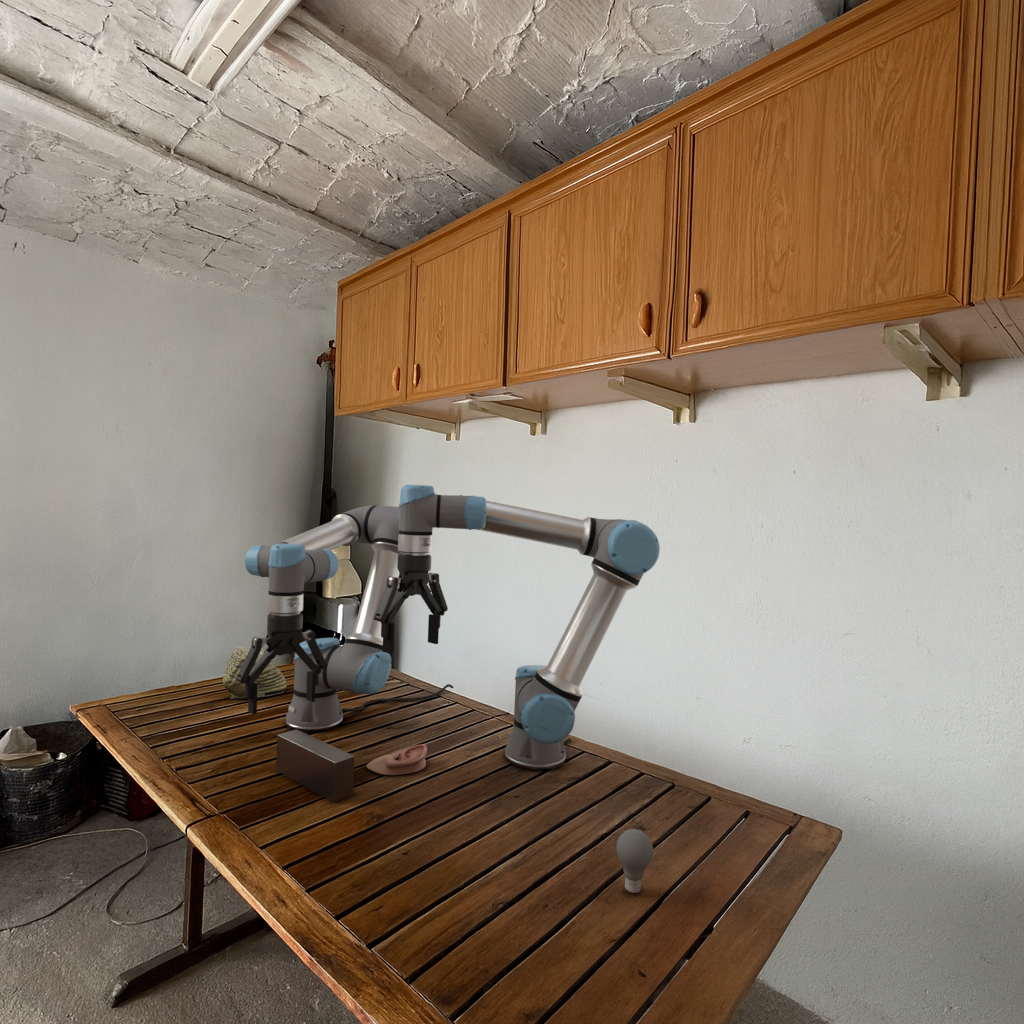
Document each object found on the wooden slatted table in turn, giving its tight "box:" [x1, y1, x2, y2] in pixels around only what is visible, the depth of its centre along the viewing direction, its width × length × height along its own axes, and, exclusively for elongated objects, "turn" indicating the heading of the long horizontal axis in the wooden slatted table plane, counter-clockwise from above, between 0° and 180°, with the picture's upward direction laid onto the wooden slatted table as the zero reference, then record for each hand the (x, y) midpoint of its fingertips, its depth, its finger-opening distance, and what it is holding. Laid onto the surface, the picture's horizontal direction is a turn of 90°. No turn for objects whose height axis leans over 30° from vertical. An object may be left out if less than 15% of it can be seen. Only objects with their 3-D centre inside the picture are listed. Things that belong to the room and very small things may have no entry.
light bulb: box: [615, 828, 654, 894], centre depth 106 cm, size 6×6×10 cm
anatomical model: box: [366, 743, 428, 776], centre depth 150 cm, size 13×4×12 cm
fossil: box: [222, 646, 288, 699], centre depth 198 cm, size 9×18×15 cm, turn 132°
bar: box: [275, 729, 355, 803], centre depth 140 cm, size 22×5×8 cm, turn 51°
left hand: (282, 706), depth 143 cm, fingers open, 13 cm apart
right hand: (411, 647), depth 143 cm, fingers open, 13 cm apart
